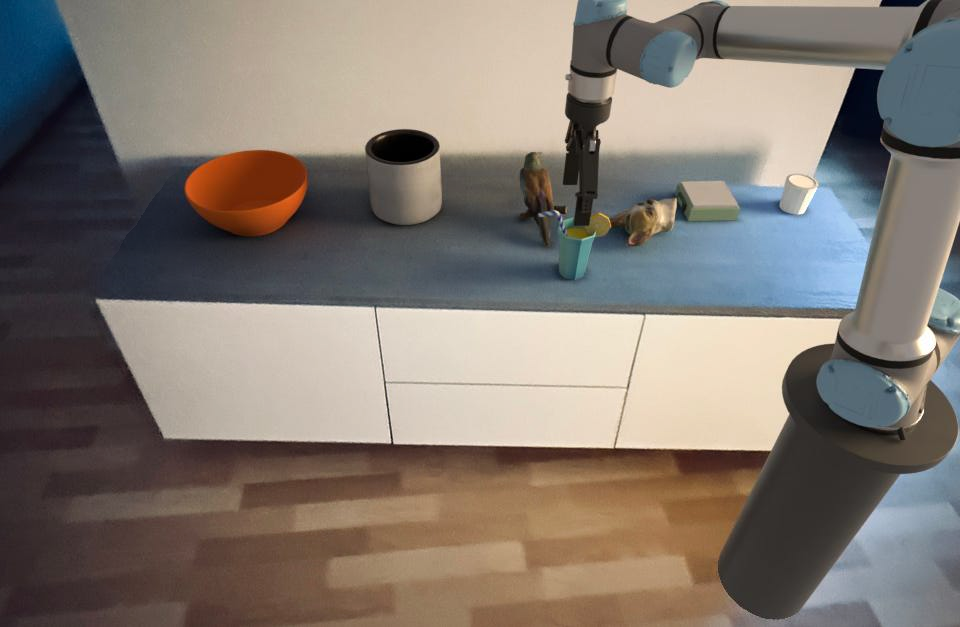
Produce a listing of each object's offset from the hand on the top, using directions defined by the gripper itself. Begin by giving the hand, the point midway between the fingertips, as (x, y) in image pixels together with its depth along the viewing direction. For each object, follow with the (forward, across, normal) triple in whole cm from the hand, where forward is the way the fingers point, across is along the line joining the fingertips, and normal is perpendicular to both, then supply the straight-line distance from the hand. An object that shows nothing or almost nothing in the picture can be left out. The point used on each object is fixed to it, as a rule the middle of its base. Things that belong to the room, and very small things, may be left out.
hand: (575, 203), depth 125 cm
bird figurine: (+16, -18, -3) cm, 25 cm away
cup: (+16, 0, 0) cm, 16 cm away
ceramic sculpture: (+16, -12, +18) cm, 27 cm away
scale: (+16, -22, +35) cm, 45 cm away
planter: (+17, -24, -33) cm, 44 cm away
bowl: (+17, -21, -66) cm, 71 cm away
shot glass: (+16, -21, +55) cm, 61 cm away
